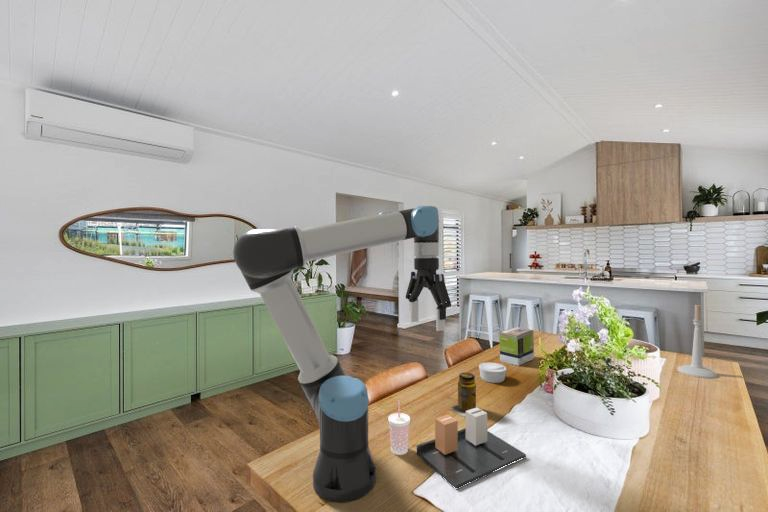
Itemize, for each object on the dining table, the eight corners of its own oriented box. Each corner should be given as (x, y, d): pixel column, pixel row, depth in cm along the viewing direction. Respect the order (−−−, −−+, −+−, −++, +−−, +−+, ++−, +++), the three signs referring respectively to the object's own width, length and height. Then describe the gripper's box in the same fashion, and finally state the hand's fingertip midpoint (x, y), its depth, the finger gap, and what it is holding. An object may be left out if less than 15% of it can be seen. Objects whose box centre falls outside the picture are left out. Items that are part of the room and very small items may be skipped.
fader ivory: (475, 445, 96) (475, 416, 96) (465, 438, 100) (465, 410, 100) (487, 441, 99) (487, 412, 98) (477, 434, 102) (477, 407, 102)
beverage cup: (392, 442, 101) (392, 394, 101) (413, 446, 99) (412, 397, 99) (385, 453, 96) (384, 403, 95) (406, 458, 93) (406, 406, 93)
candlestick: (724, 379, 145) (725, 307, 144) (686, 376, 149) (687, 305, 148) (706, 369, 157) (707, 302, 156) (671, 366, 161) (673, 301, 160)
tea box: (515, 354, 180) (515, 326, 180) (534, 359, 172) (534, 329, 172) (499, 361, 170) (499, 330, 170) (518, 366, 163) (518, 334, 162)
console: (455, 489, 81) (455, 479, 81) (416, 454, 95) (416, 445, 95) (525, 458, 93) (525, 449, 93) (481, 430, 107) (481, 422, 107)
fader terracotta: (444, 454, 92) (444, 424, 92) (435, 447, 96) (435, 418, 96) (457, 449, 94) (457, 420, 94) (447, 442, 98) (447, 414, 98)
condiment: (481, 410, 120) (481, 375, 120) (463, 417, 115) (463, 381, 115) (465, 402, 126) (465, 369, 126) (448, 408, 122) (448, 374, 121)
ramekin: (503, 386, 140) (503, 373, 140) (475, 381, 146) (475, 368, 146) (509, 377, 150) (509, 365, 150) (483, 372, 156) (483, 360, 156)
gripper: (463, 257, 99) (463, 332, 99) (413, 255, 120) (414, 317, 121) (442, 258, 95) (442, 336, 96) (394, 256, 117) (395, 319, 117)
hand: (426, 325), depth 108 cm, fingers open, 13 cm apart
